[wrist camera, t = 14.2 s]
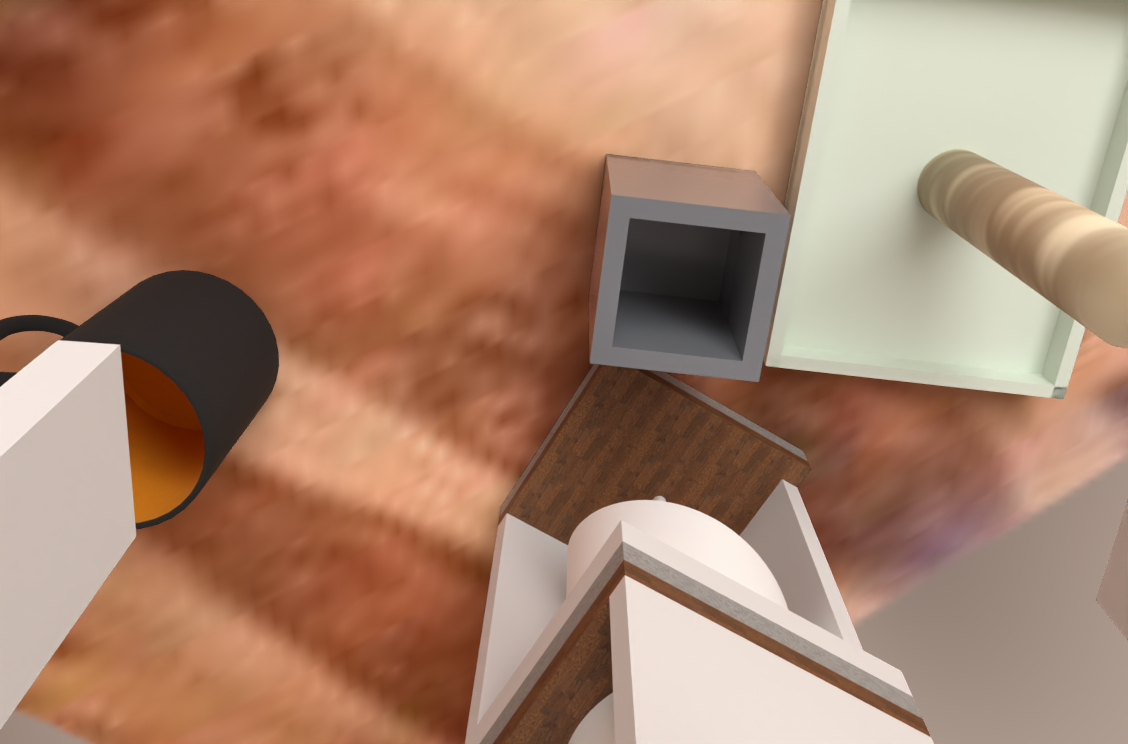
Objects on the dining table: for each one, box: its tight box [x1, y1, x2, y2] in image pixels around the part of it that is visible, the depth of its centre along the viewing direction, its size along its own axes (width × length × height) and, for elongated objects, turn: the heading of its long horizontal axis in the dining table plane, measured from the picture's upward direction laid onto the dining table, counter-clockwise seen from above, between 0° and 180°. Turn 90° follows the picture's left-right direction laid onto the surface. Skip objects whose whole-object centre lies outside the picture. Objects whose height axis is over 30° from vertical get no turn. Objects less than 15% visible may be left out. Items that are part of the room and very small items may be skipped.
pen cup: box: [589, 154, 791, 382], centre depth 45 cm, size 7×7×9 cm
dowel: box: [917, 149, 1128, 348], centre depth 40 cm, size 3×3×17 cm
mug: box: [0, 270, 279, 529], centre depth 47 cm, size 8×12×10 cm
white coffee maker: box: [465, 364, 934, 744], centre depth 38 cm, size 11×11×35 cm
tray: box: [763, 0, 1128, 399], centre depth 47 cm, size 18×14×2 cm
